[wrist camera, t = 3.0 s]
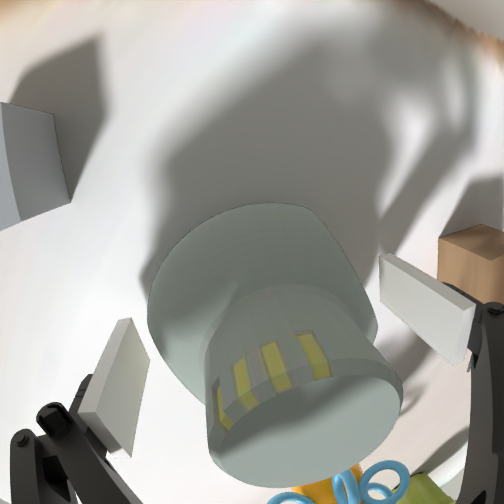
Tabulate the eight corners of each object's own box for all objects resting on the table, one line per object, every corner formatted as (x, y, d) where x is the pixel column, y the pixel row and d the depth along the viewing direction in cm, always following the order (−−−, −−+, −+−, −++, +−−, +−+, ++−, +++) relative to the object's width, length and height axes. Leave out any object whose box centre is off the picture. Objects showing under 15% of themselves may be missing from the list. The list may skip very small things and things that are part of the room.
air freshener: (357, 322, 18) (449, 431, 8) (248, 389, 18) (279, 524, 9) (270, 168, 14) (381, 182, 5) (135, 259, 15) (56, 391, 5)
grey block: (54, 114, 12) (1, 102, 7) (71, 202, 13) (21, 221, 9) (-9, 148, 11) (-64, 151, 7) (8, 227, 13) (-44, 252, 8)
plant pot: (377, 490, 28) (400, 534, 20) (435, 456, 28) (462, 495, 20) (383, 504, 31) (401, 540, 23) (432, 475, 31) (454, 508, 23)
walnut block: (480, 223, 18) (528, 241, 13) (476, 283, 19) (518, 307, 14) (437, 237, 17) (490, 260, 12) (434, 302, 19) (478, 334, 14)
